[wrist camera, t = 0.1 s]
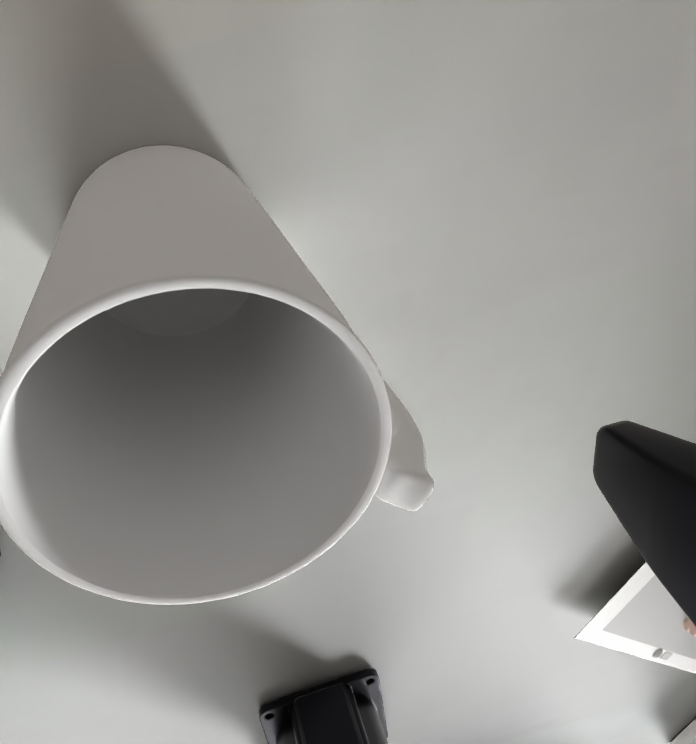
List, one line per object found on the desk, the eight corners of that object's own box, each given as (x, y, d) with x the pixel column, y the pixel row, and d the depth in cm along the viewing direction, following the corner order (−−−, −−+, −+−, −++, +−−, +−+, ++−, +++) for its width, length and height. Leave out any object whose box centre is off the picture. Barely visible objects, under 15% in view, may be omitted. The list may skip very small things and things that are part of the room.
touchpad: (654, 525, 36) (681, 553, 34) (780, 585, 43) (809, 611, 41) (564, 622, 38) (585, 653, 36) (698, 664, 45) (722, 692, 43)
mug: (22, 288, 20) (-84, 564, 10) (108, 89, 18) (79, 191, 8) (294, 393, 25) (402, 652, 15) (385, 243, 23) (579, 427, 13)
